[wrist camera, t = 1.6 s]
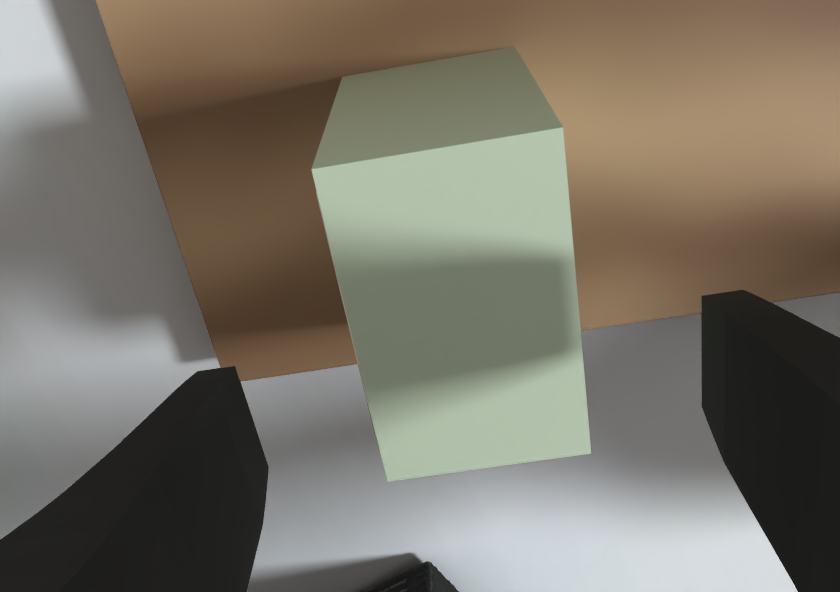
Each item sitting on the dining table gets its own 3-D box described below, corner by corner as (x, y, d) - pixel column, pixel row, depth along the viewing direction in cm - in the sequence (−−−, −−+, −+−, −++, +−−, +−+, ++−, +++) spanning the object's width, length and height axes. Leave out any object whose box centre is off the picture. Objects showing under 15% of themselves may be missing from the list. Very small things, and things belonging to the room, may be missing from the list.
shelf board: (1081, 226, 22) (1198, 288, 19) (236, 355, 24) (208, 432, 20) (1275, -587, 14) (1526, -720, 11) (17, -315, 16) (-83, -362, 13)
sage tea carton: (514, 46, 18) (562, 127, 12) (542, 296, 21) (591, 453, 15) (335, 77, 18) (302, 170, 13) (388, 319, 21) (379, 482, 16)
